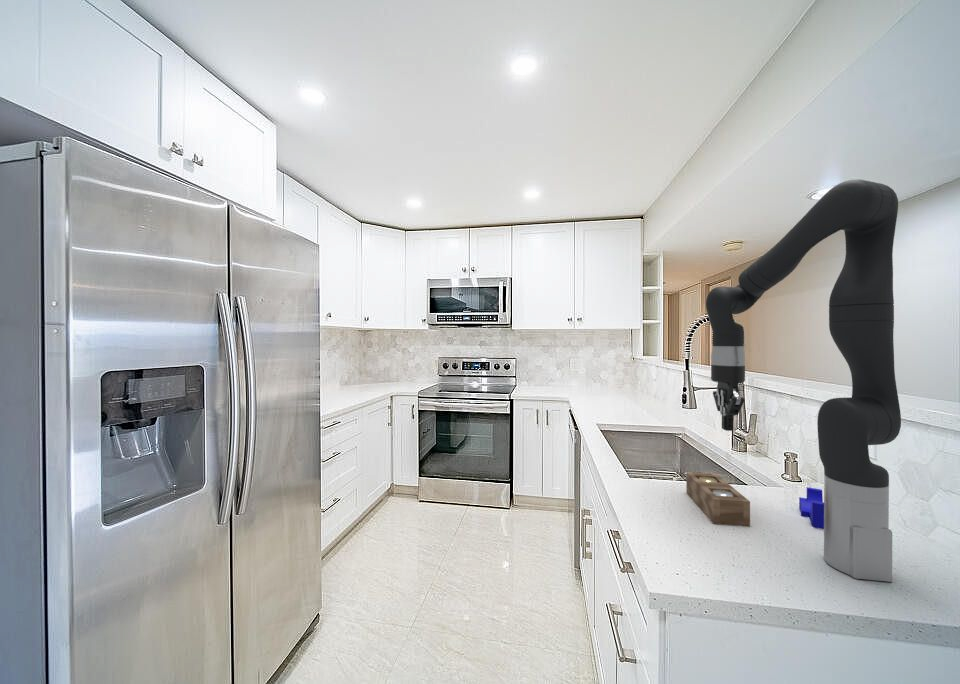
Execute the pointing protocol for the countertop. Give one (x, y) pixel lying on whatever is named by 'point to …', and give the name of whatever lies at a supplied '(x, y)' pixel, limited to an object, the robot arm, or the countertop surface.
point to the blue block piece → (813, 507)
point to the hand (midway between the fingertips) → (727, 429)
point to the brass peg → (707, 479)
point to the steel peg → (722, 493)
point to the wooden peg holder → (718, 500)
